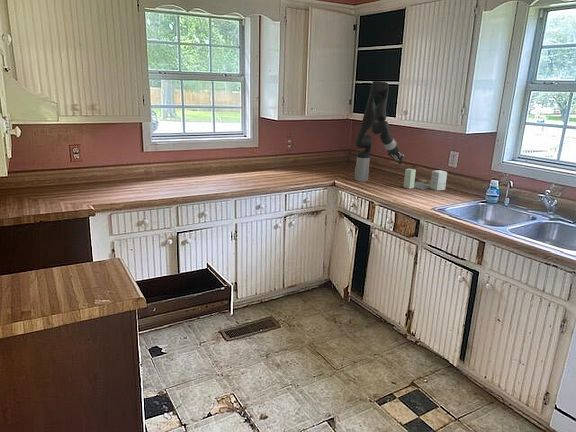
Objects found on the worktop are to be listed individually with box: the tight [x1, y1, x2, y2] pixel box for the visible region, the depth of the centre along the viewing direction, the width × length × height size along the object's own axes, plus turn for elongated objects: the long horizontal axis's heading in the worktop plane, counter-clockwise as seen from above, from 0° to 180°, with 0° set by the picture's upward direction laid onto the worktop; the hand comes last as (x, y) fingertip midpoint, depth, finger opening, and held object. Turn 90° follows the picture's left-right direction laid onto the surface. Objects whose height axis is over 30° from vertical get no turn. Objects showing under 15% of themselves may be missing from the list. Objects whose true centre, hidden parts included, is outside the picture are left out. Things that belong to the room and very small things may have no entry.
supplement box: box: [429, 169, 448, 191], centre depth 307 cm, size 7×7×13 cm
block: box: [403, 168, 417, 190], centre depth 307 cm, size 5×5×13 cm
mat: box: [403, 181, 431, 190], centre depth 317 cm, size 16×17×1 cm
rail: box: [417, 178, 431, 185], centre depth 322 cm, size 16×2×2 cm, turn 38°
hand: (400, 162), depth 297 cm, fingers closed
